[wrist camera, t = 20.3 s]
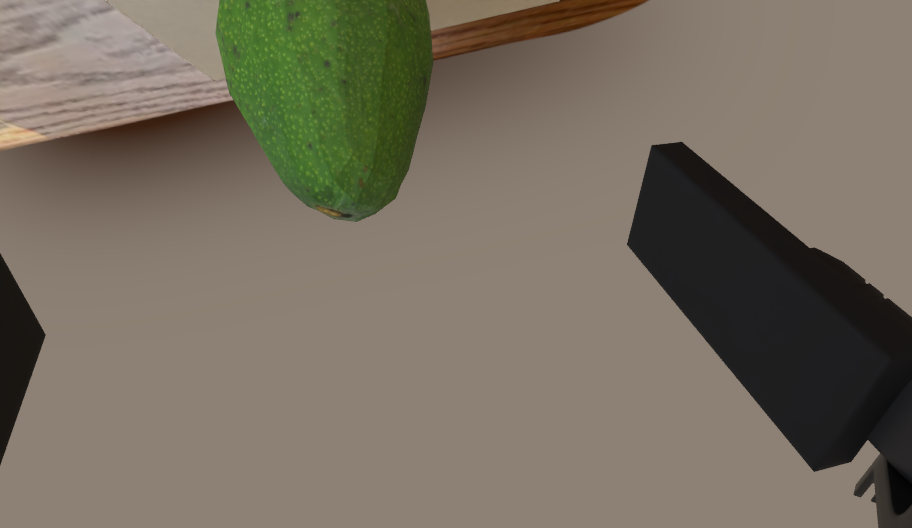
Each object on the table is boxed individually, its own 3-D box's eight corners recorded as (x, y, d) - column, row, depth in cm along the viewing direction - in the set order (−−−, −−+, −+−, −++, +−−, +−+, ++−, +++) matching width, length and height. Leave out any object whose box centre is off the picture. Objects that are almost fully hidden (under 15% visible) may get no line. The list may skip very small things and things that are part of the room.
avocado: (318, -202, 19) (375, 177, 17) (447, -70, 25) (495, 207, 24) (154, -80, 22) (189, 239, 21) (305, 6, 29) (339, 250, 28)
